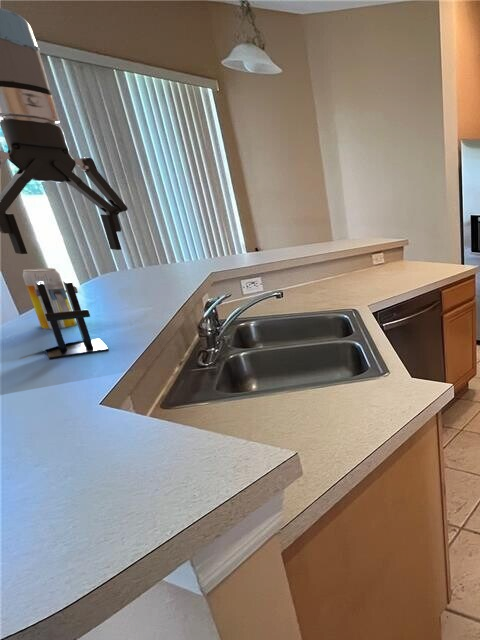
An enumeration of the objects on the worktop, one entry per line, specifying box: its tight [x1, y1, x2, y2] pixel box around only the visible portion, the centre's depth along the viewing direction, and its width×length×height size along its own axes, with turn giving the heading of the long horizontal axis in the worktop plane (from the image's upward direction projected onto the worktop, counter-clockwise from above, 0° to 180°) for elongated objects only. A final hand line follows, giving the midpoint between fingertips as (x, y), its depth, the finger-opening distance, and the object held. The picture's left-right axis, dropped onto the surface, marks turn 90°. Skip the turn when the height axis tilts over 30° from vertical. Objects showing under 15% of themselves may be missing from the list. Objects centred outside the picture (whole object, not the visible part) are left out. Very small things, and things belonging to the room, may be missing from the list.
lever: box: [45, 282, 91, 321], centre depth 87 cm, size 12×6×2 cm, turn 47°
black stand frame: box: [34, 279, 110, 361], centre depth 91 cm, size 11×9×15 cm
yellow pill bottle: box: [22, 267, 77, 330], centre depth 105 cm, size 6×6×15 cm
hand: (72, 251), depth 83 cm, fingers open, 13 cm apart
